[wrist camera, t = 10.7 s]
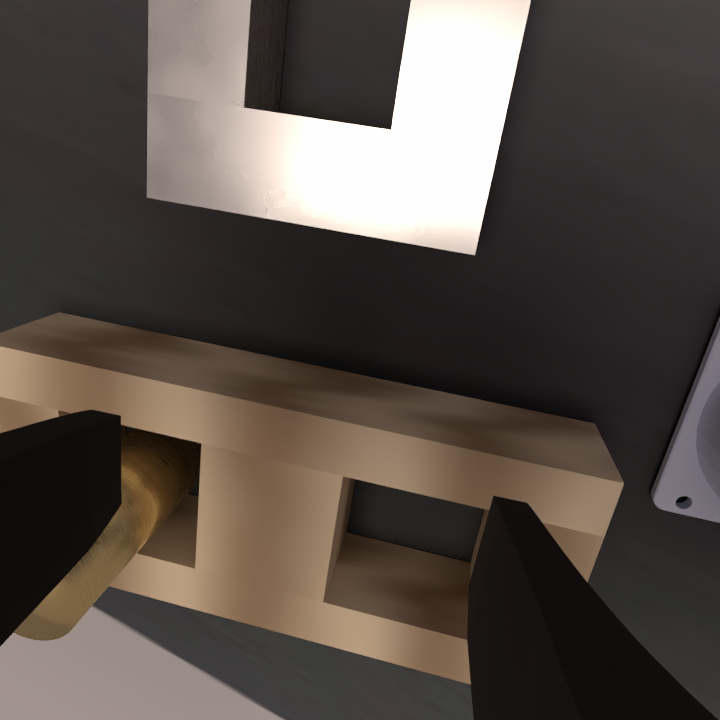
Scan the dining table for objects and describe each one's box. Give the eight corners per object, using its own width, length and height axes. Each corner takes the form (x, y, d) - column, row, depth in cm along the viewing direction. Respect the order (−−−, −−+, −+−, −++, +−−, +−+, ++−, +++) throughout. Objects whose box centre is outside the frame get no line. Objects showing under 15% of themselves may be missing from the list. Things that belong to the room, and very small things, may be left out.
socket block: (554, -130, 15) (574, -200, 12) (473, 242, 18) (474, 255, 16) (205, -162, 16) (150, -230, 13) (192, 193, 20) (146, 197, 17)
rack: (594, 423, 20) (624, 483, 16) (530, 616, 23) (542, 703, 19) (59, 312, 22) (-23, 341, 18) (68, 499, 25) (-1, 556, 22)
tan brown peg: (222, 413, 22) (76, 560, 14) (217, 479, 23) (79, 653, 15) (149, 395, 23) (-36, 529, 14) (147, 462, 24) (-25, 622, 15)
